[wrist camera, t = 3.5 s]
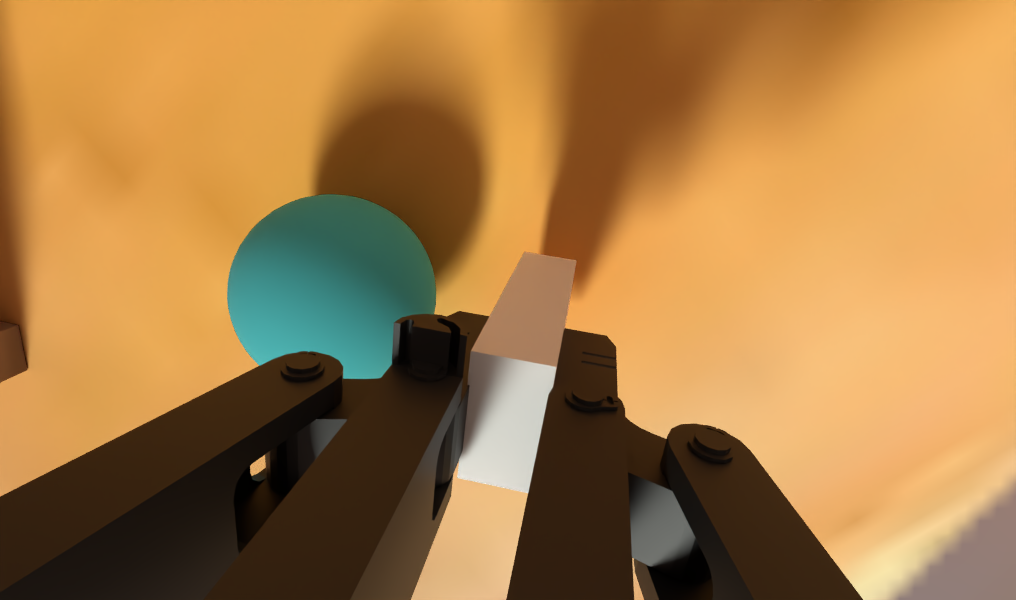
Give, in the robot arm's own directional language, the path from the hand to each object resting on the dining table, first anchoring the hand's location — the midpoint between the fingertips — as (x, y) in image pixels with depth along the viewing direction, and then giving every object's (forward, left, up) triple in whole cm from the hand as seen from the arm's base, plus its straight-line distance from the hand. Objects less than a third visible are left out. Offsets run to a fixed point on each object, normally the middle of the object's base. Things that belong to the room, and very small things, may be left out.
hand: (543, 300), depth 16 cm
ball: (0, -6, +1) cm, 6 cm away
